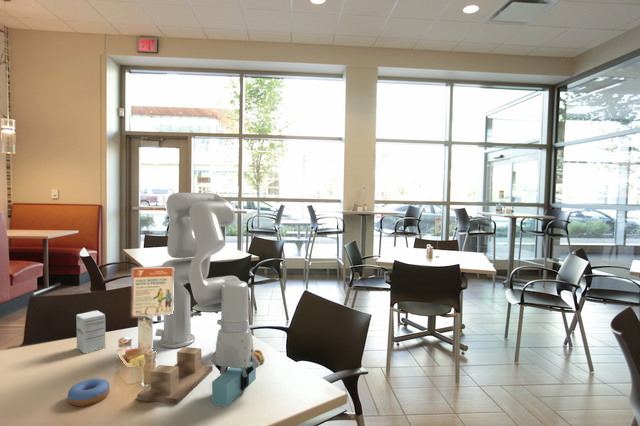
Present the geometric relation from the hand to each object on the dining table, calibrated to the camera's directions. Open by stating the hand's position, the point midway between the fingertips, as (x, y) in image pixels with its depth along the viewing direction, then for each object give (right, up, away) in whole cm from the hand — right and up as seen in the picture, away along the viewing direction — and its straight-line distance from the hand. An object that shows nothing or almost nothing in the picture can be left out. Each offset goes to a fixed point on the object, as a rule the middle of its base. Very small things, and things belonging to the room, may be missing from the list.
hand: (235, 386), depth 109 cm
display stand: (-18, -1, +3) cm, 18 cm away
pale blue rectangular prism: (0, -1, 0) cm, 1 cm away
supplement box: (-59, 0, +29) cm, 65 cm away
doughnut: (-39, -1, -4) cm, 40 cm away
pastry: (+1, -1, +18) cm, 18 cm away
